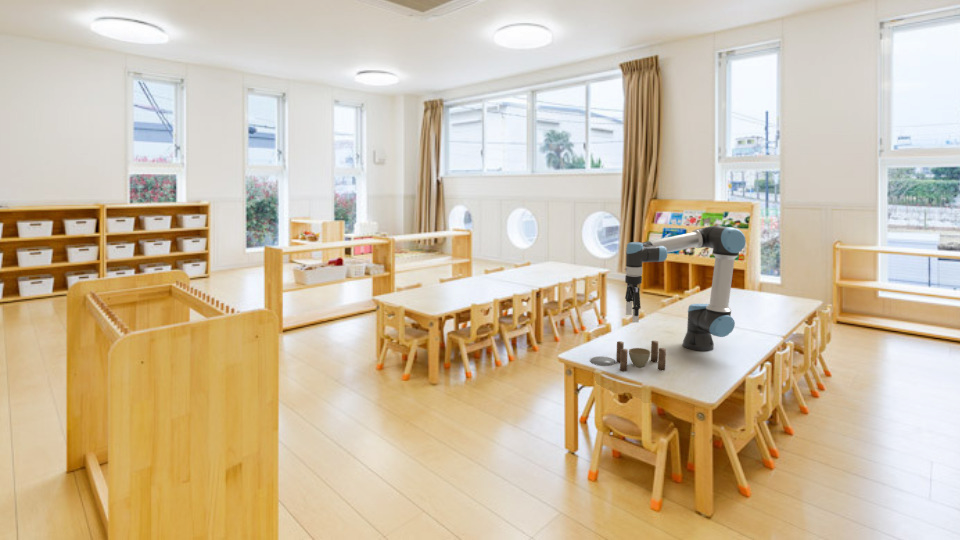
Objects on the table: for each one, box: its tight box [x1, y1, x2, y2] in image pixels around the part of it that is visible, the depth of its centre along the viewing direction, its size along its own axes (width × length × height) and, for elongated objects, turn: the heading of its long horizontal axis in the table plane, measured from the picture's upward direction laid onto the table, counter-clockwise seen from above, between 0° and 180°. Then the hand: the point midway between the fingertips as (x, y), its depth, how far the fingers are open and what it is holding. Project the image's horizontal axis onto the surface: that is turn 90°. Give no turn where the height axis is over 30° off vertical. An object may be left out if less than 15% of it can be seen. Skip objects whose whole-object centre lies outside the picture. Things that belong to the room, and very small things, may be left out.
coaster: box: [590, 356, 617, 367], centre depth 258 cm, size 12×12×1 cm
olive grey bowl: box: [628, 347, 651, 368], centre depth 251 cm, size 10×10×7 cm
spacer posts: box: [615, 340, 667, 372], centre depth 250 cm, size 21×15×10 cm
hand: (631, 318), depth 252 cm, fingers open, 13 cm apart
